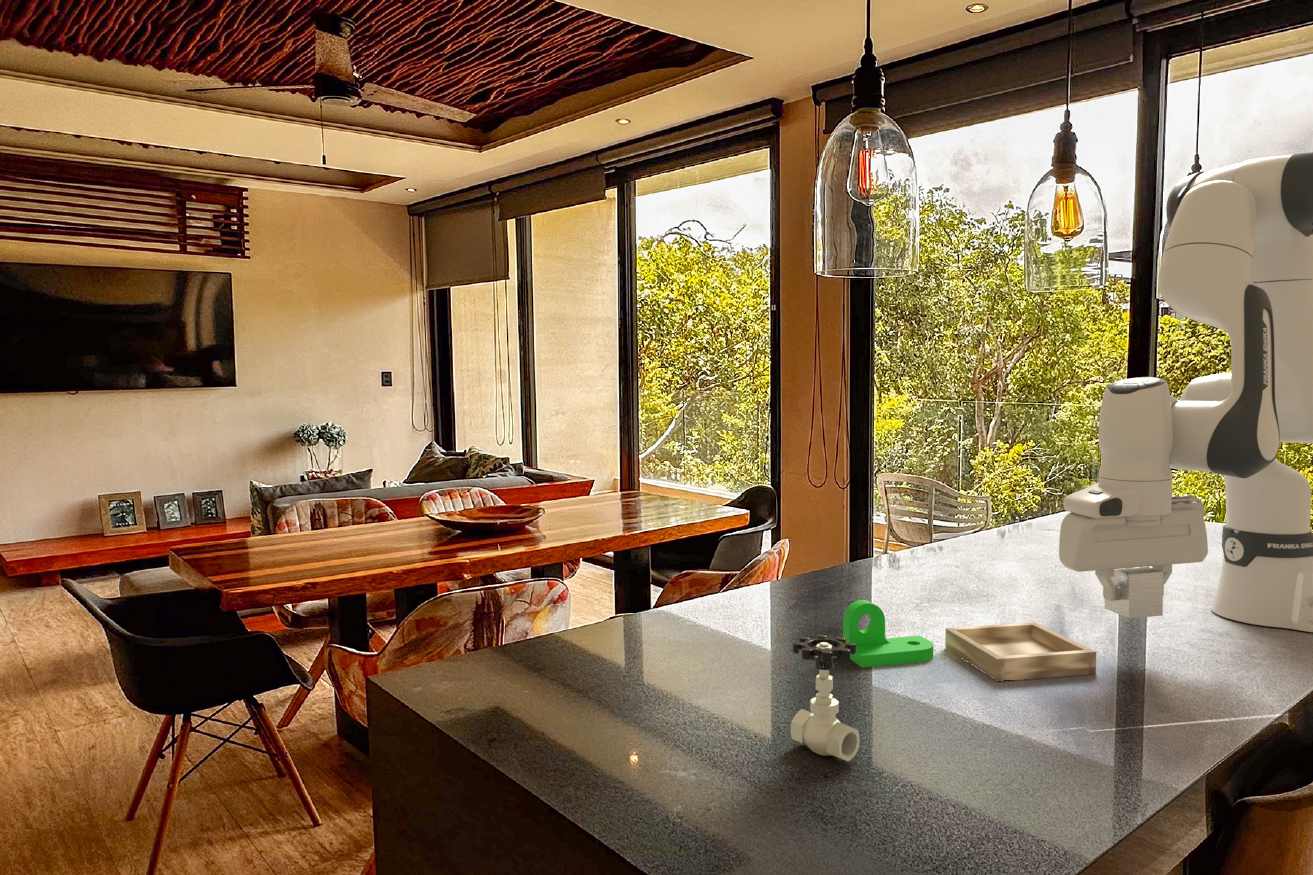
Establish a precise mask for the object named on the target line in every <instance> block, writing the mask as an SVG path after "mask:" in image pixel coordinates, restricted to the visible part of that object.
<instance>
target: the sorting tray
mask: <svg viewBox="0 0 1313 875" xmlns="http://www.w3.org/2000/svg"><path fill="white" fill-rule="evenodd" d="M944 638H945V643H944V644H945V645H944V646H945V649H946V648H947V649H948V650H947V649H946V650H947V651H949V650H950V651H951V652H950V651H949V652H950V653H951V654H953V653H955V654H956V655H957V656H956V655H955V654H954V655H955V656H956V657H958V656H959V657H960V658H959V657H958V658H959V659H961V658H963V659H964V660H966V661H968V662H969V663H970V664H973V665H974V666H976V667H977V668H978V669H980V670H982V671H983V672H985V673H986V674H987V675H989V676H991V677H993V678H994V679H995V680H997V681H1002V680H1015V681H1025V680H1026V679H1027V680H1037V678H1039V679H1051V678H1062V677H1063V678H1064V677H1075V676H1076V677H1077V676H1089V675H1090V676H1091V675H1097V674H1096V673H1097V651H1095V650H1093V649H1091V648H1090V647H1087V646H1085V645H1083V644H1081V643H1079V642H1077V641H1075V640H1073V639H1071V638H1068V637H1067V636H1064V635H1062V634H1060V633H1058V632H1056V631H1053V630H1052V629H1049V628H1047V627H1045V625H1044V626H1043V625H1041V624H1039V623H1037V622H1034V621H1032V622H1018V623H1006V624H990V625H987V624H986V625H976V626H975V625H973V626H963V627H962V626H961V627H960V626H959V627H946V628H945V637H944ZM964 660H963V661H964ZM970 664H969V665H970ZM978 669H977V670H978ZM983 672H982V673H983ZM986 674H985V675H986ZM987 675H986V676H987ZM989 676H988V677H989ZM1024 679H1025V680H1024ZM1039 679H1038V680H1039ZM995 680H994V681H995ZM997 681H996V682H997ZM1002 682H1003V681H1002Z"/></svg>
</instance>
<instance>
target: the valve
mask: <svg viewBox="0 0 1313 875" xmlns="http://www.w3.org/2000/svg"><path fill="white" fill-rule="evenodd" d="M798 637H799V638H798V641H793V642H792V647H791V648H792V650H791V651H792V654H793V653H794V654H797V655H799V653H800V650H801V659H802V660H804V661H805V660H806V661H809V660H810V661H813V662H814V668H815V669H817V670H819V674H817V675H816V676H815V691H818V692H817V693H816V694H815V696H814V697H812V698H811V699H810V701H809V702H810V703H809V710H810V711H809V710H806V709H803V708H801V709H800V710H798V711H797V712H796V714H795V715H794V717H793V719H792V720H791V724H790V737H791V740H794V741H796V742H799V743H801V744H802V745H806V746H807V747H808V748H809V749H810V750H811V751H812V752H813V753H814V754H815V753H816V754H817V755H820V756H823V757H824V756H826V757H828V756H834V757H836V758H838V759H840V760H844V761H846V762H850V761H851V760H852V759H853V758H854V757H855V756H856V754H857V752H858V750H859V748H860V732H859V730H858V729H856V728H854V727H852V726H849V725H848V724H847V725H846V724H844V723H842V722H841V721H840V720H839V719H838V718H837V716H836V715H837V714H838V713H839V711H840V710H839V709H840V708H839V707H840V706H839V705H840V704H839V701H838V699H836V698H834V694H831V692H832V691H833V689H834V682H833V681H834V676H832V675H830V670H833V669H834V668H835V666H834V665H835V664H838V663H840V662H842V661H850V660H851V654H855V653H856V644H855V643H853V642H847V643H846V638H845V637H843V636H836V637H835V638H828V635H826V634H821V633H820V634H817V635H816V636H815V638H810V637H809V636H807V635H806V636H803V635H802V636H798ZM833 647H835V648H833Z"/></svg>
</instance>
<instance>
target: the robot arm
mask: <svg viewBox="0 0 1313 875" xmlns="http://www.w3.org/2000/svg"><path fill="white" fill-rule="evenodd" d="M1165 208H1166V219H1167V223H1168V225H1169V230H1168V234H1167V238H1166V239H1165V240H1166V241H1165V244H1164V249H1163V253H1162V256H1161V262H1160V265H1159V266H1160V267H1159V274H1158V288H1159V292H1160V296H1161V297H1162V299H1163V301H1164V302H1165V304H1167V305H1168V306H1169V308H1171V309H1172V310H1173V311H1175V312H1176V313H1178V314H1180V315H1182V316H1183V317H1185V318H1188V319H1190V320H1192V321H1195V322H1198V323H1201V324H1204V325H1207V326H1211V327H1214V328H1217V329H1219V330H1221V331H1224V332H1226V333H1227V335H1228V336H1229V340H1230V348H1231V349H1230V352H1231V353H1230V354H1231V355H1230V356H1231V357H1230V358H1231V360H1230V361H1231V362H1230V366H1231V368H1230V369H1231V370H1230V372H1222V373H1216V374H1210V375H1206V376H1205V375H1204V376H1200V377H1196V378H1194V379H1192V380H1191V381H1190V382H1189V383H1188V384H1187V385H1186V386H1185V388H1184V389H1183V391H1182V393H1181V395H1180V398H1179V399H1178V398H1177V397H1176V396H1175V397H1174V396H1172V395H1171V394H1170V393H1171V392H1170V387H1169V384H1168V382H1167V381H1166V380H1165V379H1163V378H1158V377H1153V376H1142V377H1141V376H1140V377H1137V376H1136V377H1132V378H1124V379H1120V380H1116V381H1114V382H1112V383H1110V384H1109V385H1107V386H1106V387H1105V390H1104V392H1103V396H1102V401H1101V405H1100V414H1099V422H1098V446H1099V450H1100V454H1101V462H1100V468H1099V469H1098V482H1096V483H1094V484H1092V485H1089V486H1088V487H1087V486H1086V488H1083V489H1080V490H1078V491H1075V492H1073V493H1071V494H1068V495H1066V496H1065V497H1064V499H1063V509H1064V510H1065V511H1066V512H1069V513H1067V514H1066V515H1065V516H1064V517H1063V519H1062V522H1061V524H1060V529H1059V530H1060V531H1059V540H1058V541H1059V542H1058V544H1059V545H1058V558H1059V561H1060V562H1061V564H1062V565H1063V566H1064V568H1067V569H1069V570H1072V571H1073V572H1074V571H1075V572H1079V573H1081V572H1092V571H1093V572H1094V575H1095V576H1096V578H1097V580H1098V581H1099V583H1100V584H1101V586H1102V596H1103V599H1104V600H1105V599H1106V600H1108V601H1116V600H1120V599H1121V595H1120V594H1121V588H1119V587H1116V586H1115V585H1114V583H1113V581H1112V579H1111V577H1114V570H1115V569H1121V568H1133V567H1151V568H1153V569H1156V570H1159V571H1162V572H1163V596H1164V594H1165V592H1164V591H1165V585H1166V583H1167V582H1168V579H1169V578H1170V576H1171V575H1172V573H1173V565H1181V564H1194V563H1203V561H1205V559H1206V558H1207V557H1208V553H1209V552H1208V551H1209V548H1208V547H1209V546H1208V544H1209V543H1208V534H1207V533H1208V532H1207V526H1206V522H1205V516H1204V515H1205V514H1204V513H1205V507H1204V506H1205V505H1204V503H1203V502H1202V501H1201V499H1199V498H1197V497H1195V495H1194V494H1183V495H1173V473H1172V470H1171V469H1176V470H1181V471H1192V472H1193V471H1194V472H1203V473H1204V472H1205V473H1214V474H1215V475H1221V476H1222V475H1223V476H1222V477H1223V479H1224V490H1225V511H1226V512H1225V525H1223V526H1222V534H1221V548H1222V554H1223V558H1222V559H1223V560H1222V564H1221V570H1220V575H1219V580H1218V585H1217V590H1216V594H1215V596H1214V600H1213V602H1212V606H1211V608H1210V610H1211V611H1212V612H1213V613H1214V614H1216V615H1218V616H1220V617H1222V618H1225V619H1230V620H1233V621H1237V622H1241V623H1245V624H1250V625H1256V626H1257V625H1258V626H1262V627H1263V626H1264V627H1272V628H1273V627H1274V628H1280V629H1282V628H1283V629H1291V630H1296V631H1302V632H1308V633H1313V532H1312V531H1311V509H1312V508H1311V507H1312V487H1311V484H1310V483H1309V480H1308V479H1307V478H1306V477H1305V476H1304V475H1303V474H1302V473H1301V472H1300V471H1298V470H1296V469H1295V468H1293V467H1291V466H1288V465H1287V464H1284V463H1282V462H1281V461H1279V460H1278V459H1276V458H1277V457H1278V453H1279V452H1280V443H1290V444H1291V443H1293V444H1296V443H1297V444H1313V152H1312V151H1311V152H1307V151H1306V152H1305V151H1304V152H1300V151H1299V152H1294V153H1293V154H1291V155H1281V156H1280V155H1279V156H1278V155H1277V156H1269V157H1259V158H1254V159H1248V160H1245V161H1243V162H1240V163H1235V164H1231V165H1227V166H1223V167H1219V168H1215V169H1213V170H1212V169H1211V170H1209V171H1207V172H1206V171H1199V172H1196V173H1193V174H1191V175H1188V176H1186V177H1184V178H1182V179H1180V180H1179V181H1178V182H1177V183H1176V184H1175V186H1174V187H1173V188H1172V189H1171V191H1170V193H1169V195H1168V197H1167V201H1166V207H1165Z"/></svg>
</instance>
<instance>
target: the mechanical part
mask: <svg viewBox="0 0 1313 875" xmlns="http://www.w3.org/2000/svg"><path fill="white" fill-rule="evenodd" d="M867 615H868V616H869V622H868V625H867V626H866V627H865V628H863V629H860V628H859V622H860V620H861V618H862V617H864V616H867ZM842 637H845V638H846V643H847V642H853V643H855V644H856V653H855V654H851V659H850V660H851V661H852V662H854V663H855V664H856V665H858V666H859V667H860V668H862V669H864V668H873V667H874V668H875V667H883V666H886V667H887V666H894V665H904V664H917V663H925V661H926V662H928V661H929V662H930V661H931V660H933V659H934V643H933V641H930V640H928V639H927V638H926V637H923V636H921V635H920V634H919V635H912V636H911V635H910V636H909V635H908V636H900V637H890V638H889V637H888V638H886V616H885V614H884V611H883V610H882V608H880V606H878V605H876V604H874V603H873V602H871V601H869V600H867V599H859V600H855V601H854V602H852V603H850V604H849V605H848V606H847V608H846V609H845V611H844V613H843V616H842Z"/></svg>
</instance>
